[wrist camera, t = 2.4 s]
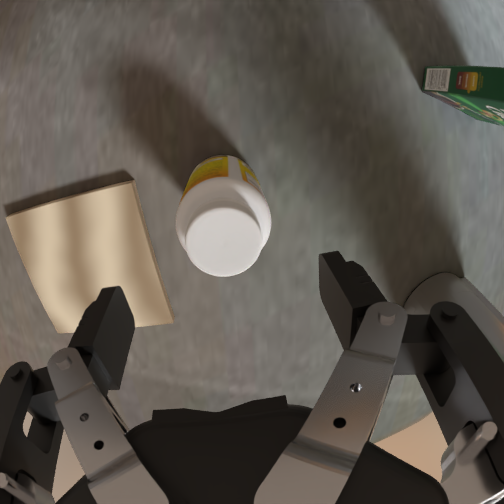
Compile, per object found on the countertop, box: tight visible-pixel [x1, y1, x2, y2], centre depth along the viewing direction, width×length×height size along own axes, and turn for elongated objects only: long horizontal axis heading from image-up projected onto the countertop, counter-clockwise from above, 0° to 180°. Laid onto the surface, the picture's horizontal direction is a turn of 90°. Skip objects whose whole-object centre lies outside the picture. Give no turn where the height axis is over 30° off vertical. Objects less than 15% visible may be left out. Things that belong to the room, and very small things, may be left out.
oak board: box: [6, 180, 175, 333], centre depth 27 cm, size 14×14×1 cm
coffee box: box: [422, 66, 504, 126], centre depth 16 cm, size 8×3×13 cm, turn 80°
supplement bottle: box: [176, 155, 271, 277], centre depth 21 cm, size 6×6×10 cm
